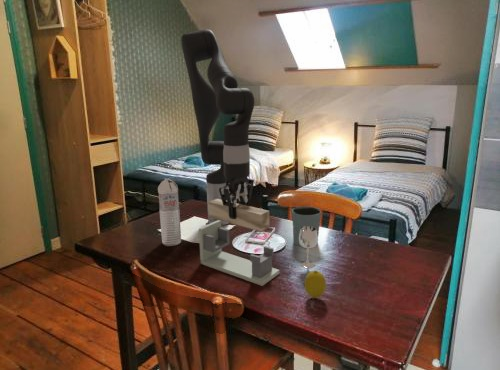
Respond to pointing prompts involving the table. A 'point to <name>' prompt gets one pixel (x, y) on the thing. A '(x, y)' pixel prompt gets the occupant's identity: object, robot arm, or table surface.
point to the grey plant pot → (304, 220)
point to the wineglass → (308, 242)
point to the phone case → (258, 241)
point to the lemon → (315, 284)
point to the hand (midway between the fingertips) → (237, 216)
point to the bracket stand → (214, 257)
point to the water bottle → (169, 212)
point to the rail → (240, 215)
